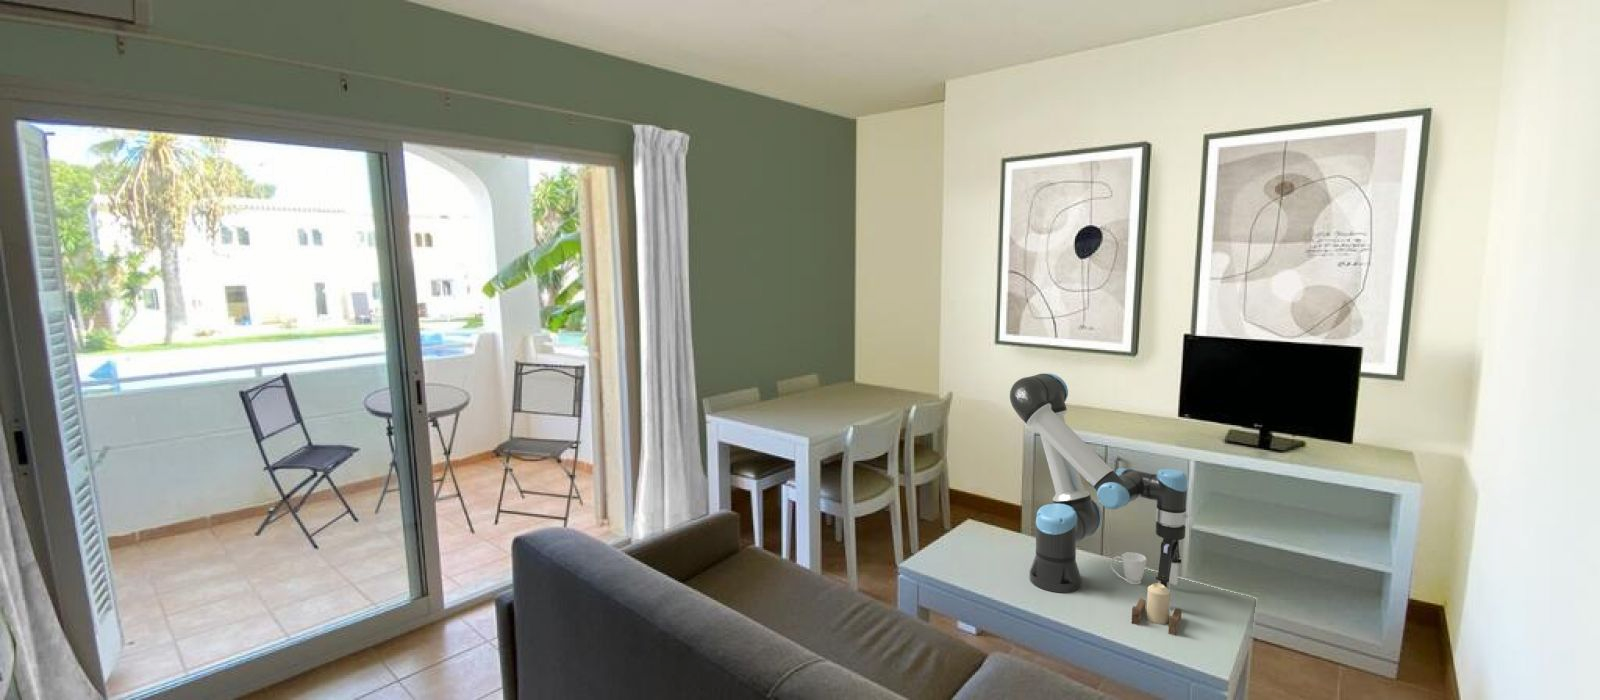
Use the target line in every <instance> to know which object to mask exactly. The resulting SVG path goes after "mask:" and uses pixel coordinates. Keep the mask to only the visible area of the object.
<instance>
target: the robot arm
mask: <svg viewBox="0 0 1600 700" xmlns="http://www.w3.org/2000/svg"><path fill="white" fill-rule="evenodd" d="M1068 396H1069V389H1068V386H1067V384H1066V382H1065V380H1064V379H1062V378H1061V377H1060V376H1059V375H1057V374H1054V373H1050V372H1049V373H1047V372H1046V373H1045V372H1044V373H1039V374H1035V375H1031V376H1025V377H1022V378H1019V379H1018V380H1017V381H1016V382H1014V383H1013V385H1012V386H1011V388H1010V390H1009V400H1010V403H1011V406H1012V408H1013V409H1014V411H1015V413H1016V414H1017V416H1018V417H1019V418H1020V419H1021V420H1022V421H1023V422H1024V423H1025V424H1026V425H1027V426H1029V427H1031V426H1032V427H1033V428H1035V430H1036V431H1038V433H1039V436H1040V440H1041V443H1042V446H1043V450H1044V454H1045V458H1046V460H1047V465H1048V468H1049V472H1050V476H1051V480H1052V483H1053V488H1054V491H1055V494H1054V496H1053V498H1052V502H1053V503H1052V504H1051V503H1048V504H1044V505H1042V506H1041V507H1039V509H1038V510H1037V512H1036V518H1035V556H1034V558H1033V561H1032V564H1031V566H1030V569H1029V581H1030V582H1031V583H1032V585H1034V586H1035V587H1037V588H1040V589H1042V590H1045V591H1049V592H1052V593H1053V592H1055V593H1070V592H1075V591H1077V590H1079V589H1080V588H1081V586H1082V576H1081V573H1080V570H1079V566H1078V563H1077V561H1076V560H1077V559H1076V557H1077V556H1076V554H1077V543H1079V542H1081V541H1082V540H1084V539H1086V538H1088V537H1090V536H1092V535H1094V533H1096V532H1097V531H1098V530H1099V528H1100V527H1101V525H1102V523H1103V513H1102V510H1101V507H1100V505H1099V504H1098V503H1097V502H1096V501H1095V500H1094V499H1092V496H1091V492H1089V491H1087V490H1086V489H1085V488H1084V486H1083V482H1082V478H1081V476H1082V477H1083V478H1084V479H1085V480H1086V481H1087V482H1088V483H1089V484H1090V485H1091V486H1092V487H1093V488H1094V489H1095V491H1096V497H1097V500H1098V502H1099V503H1100V504H1101V506H1102V507H1104V508H1106V509H1108V510H1118V509H1120V508H1123V507H1126V506H1127V505H1128V504H1129V503H1132V502H1133V501H1135V500H1136V499H1138V498H1142V499H1148V500H1150V501H1151V500H1152V501H1153V500H1154V501H1156V507H1155V508H1156V510H1155V520H1156V522H1155V533H1156V536H1158V537H1160V538H1162V541H1161V543H1160V555H1159V565H1158V571H1157V576H1155V580H1157V581H1158V583H1161V584H1162V585H1164V586H1165V587H1166V588H1167V589H1168V590H1169V591H1170V592H1171V587H1170V586H1171V585H1174V586H1178V585H1179V584H1178V583H1179V581H1178V579H1179V576H1178V575H1179V564H1182V559H1180V558H1181V557H1180V556H1181V555H1180V543H1179V542H1180V540H1181V541H1182V540H1183V539H1185V537H1186V519H1188V518H1189V515H1188V514H1186V513H1187V496H1188V481H1187V480H1188V477H1187V474H1186V473H1185V472H1184V471H1182V470H1179V469H1174V468H1161V469H1159V470H1158V471H1157V473H1155V474H1154V473H1150V472H1145V471H1140V470H1136V469H1133V468H1126V467H1125V468H1124V467H1123V468H1122V467H1120V468H1117V469H1116V470H1114V469H1113V468H1111V467H1110V466H1109V465H1108V464H1107V463H1106V462H1105V461H1104V460H1103V459H1102V457H1100V456H1099V455H1098V454H1097V452H1095V451H1094V450H1093V449H1092V448H1091V447H1090V446H1089V445H1088V444H1087V443H1086V442H1085V441H1084V440H1083V438H1081V437H1080V436H1079V435H1078V434H1077V433H1076V432H1075V431H1074V430H1073V429H1072V428H1071V427H1070V426H1069V425H1068V424H1067V423H1066V421H1065V415H1066V413H1067V411H1068V410H1067V405H1066V403H1065V402H1066V401H1067V398H1068Z"/></svg>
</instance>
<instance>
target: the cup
mask: <svg viewBox="0 0 1600 700" xmlns="http://www.w3.org/2000/svg"><path fill="white" fill-rule="evenodd" d="M1115 559H1119V560H1122V567H1123V572H1124V575H1125V577H1124V576H1122V575H1120V573H1118V572H1117V571H1116V570H1115V569H1114V567H1113V561H1114V560H1115ZM1146 564H1147V558H1146V556H1145V554H1141V553H1138V552H1132V551H1126V552H1124V553H1121V556H1120V555H1119V556H1118V555H1116V556H1114V557H1113V558H1112V559H1111V562H1110V569H1111V571H1112V572H1113V573H1114V574H1115V575H1116V576H1117V577H1118V578H1120V579H1122V580H1124V581H1125V582H1127V583H1128V584H1132V585H1140V584H1141V583H1142V579H1143V576H1144V573H1145V569H1146Z"/></svg>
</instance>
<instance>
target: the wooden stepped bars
mask: <svg viewBox="0 0 1600 700" xmlns="http://www.w3.org/2000/svg"><path fill="white" fill-rule="evenodd" d="M1146 609H1147V599H1143V598H1139V599H1138V602H1137V603H1136V604H1135V605H1133V606H1132V609H1131V624H1132V625H1136V626H1138V625H1139V623H1140V622H1141V619H1142V617H1143V615H1144V613H1145V611H1146ZM1182 611H1183V609H1182V608H1178V607H1175V608H1174V611H1173V612H1172V615H1169V622H1168V635H1173V636H1175V635H1176V633H1177V631H1178V628H1179V626H1180V623H1181V621H1182V615H1183V614H1182Z"/></svg>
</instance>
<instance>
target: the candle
mask: <svg viewBox="0 0 1600 700" xmlns="http://www.w3.org/2000/svg"><path fill="white" fill-rule="evenodd" d="M1146 596H1147V597H1146V598H1147V599H1146V618H1147V620H1148V621H1149V622H1152V623H1153V624H1159V625H1167V624H1169V617H1170V606H1171V605H1170V604H1171V603H1170V602H1171V590H1170V591H1169V590H1168V589H1167V588H1166V587H1165V586H1164V585H1162V584H1161V583H1159V582H1154V583H1152V584H1151V585H1149V586H1148V587H1147V595H1146Z"/></svg>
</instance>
